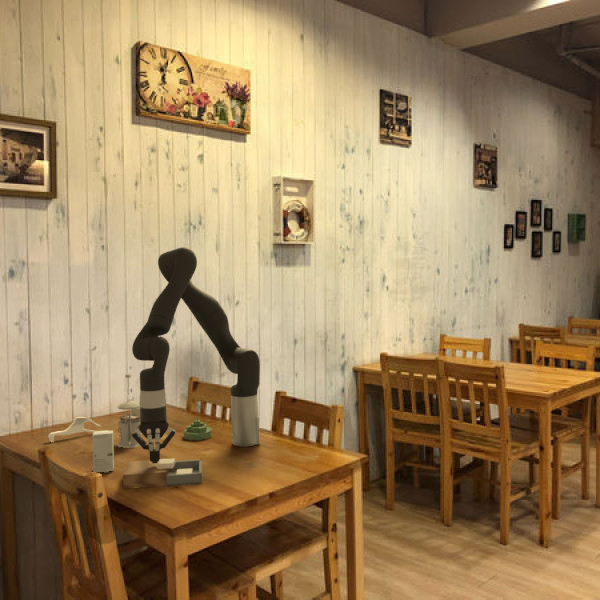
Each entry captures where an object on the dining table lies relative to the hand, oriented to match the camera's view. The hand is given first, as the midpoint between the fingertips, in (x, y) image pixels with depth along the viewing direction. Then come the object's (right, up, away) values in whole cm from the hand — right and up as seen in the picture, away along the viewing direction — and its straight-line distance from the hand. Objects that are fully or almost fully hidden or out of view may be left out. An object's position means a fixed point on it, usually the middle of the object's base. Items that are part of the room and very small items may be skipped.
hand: (155, 462), depth 187 cm
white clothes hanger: (-40, -4, +49) cm, 63 cm away
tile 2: (+9, -3, +1) cm, 9 cm away
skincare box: (-18, -5, +10) cm, 21 cm away
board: (-2, -5, 0) cm, 6 cm away
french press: (-17, -3, +37) cm, 41 cm away
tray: (+9, -5, +2) cm, 10 cm away
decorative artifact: (+5, -2, +45) cm, 45 cm away
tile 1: (+3, -1, 0) cm, 4 cm away
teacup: (-18, -2, +65) cm, 68 cm away
